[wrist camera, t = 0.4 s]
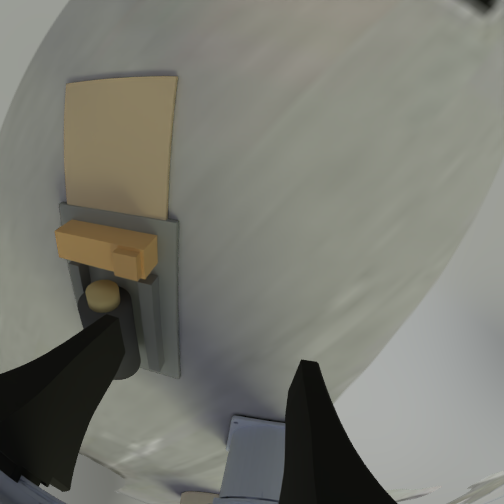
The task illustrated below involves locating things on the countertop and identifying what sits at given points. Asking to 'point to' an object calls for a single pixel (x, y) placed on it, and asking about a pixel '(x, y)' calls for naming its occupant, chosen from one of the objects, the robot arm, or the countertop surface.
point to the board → (127, 195)
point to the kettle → (197, 497)
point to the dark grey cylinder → (118, 305)
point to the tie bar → (108, 248)
